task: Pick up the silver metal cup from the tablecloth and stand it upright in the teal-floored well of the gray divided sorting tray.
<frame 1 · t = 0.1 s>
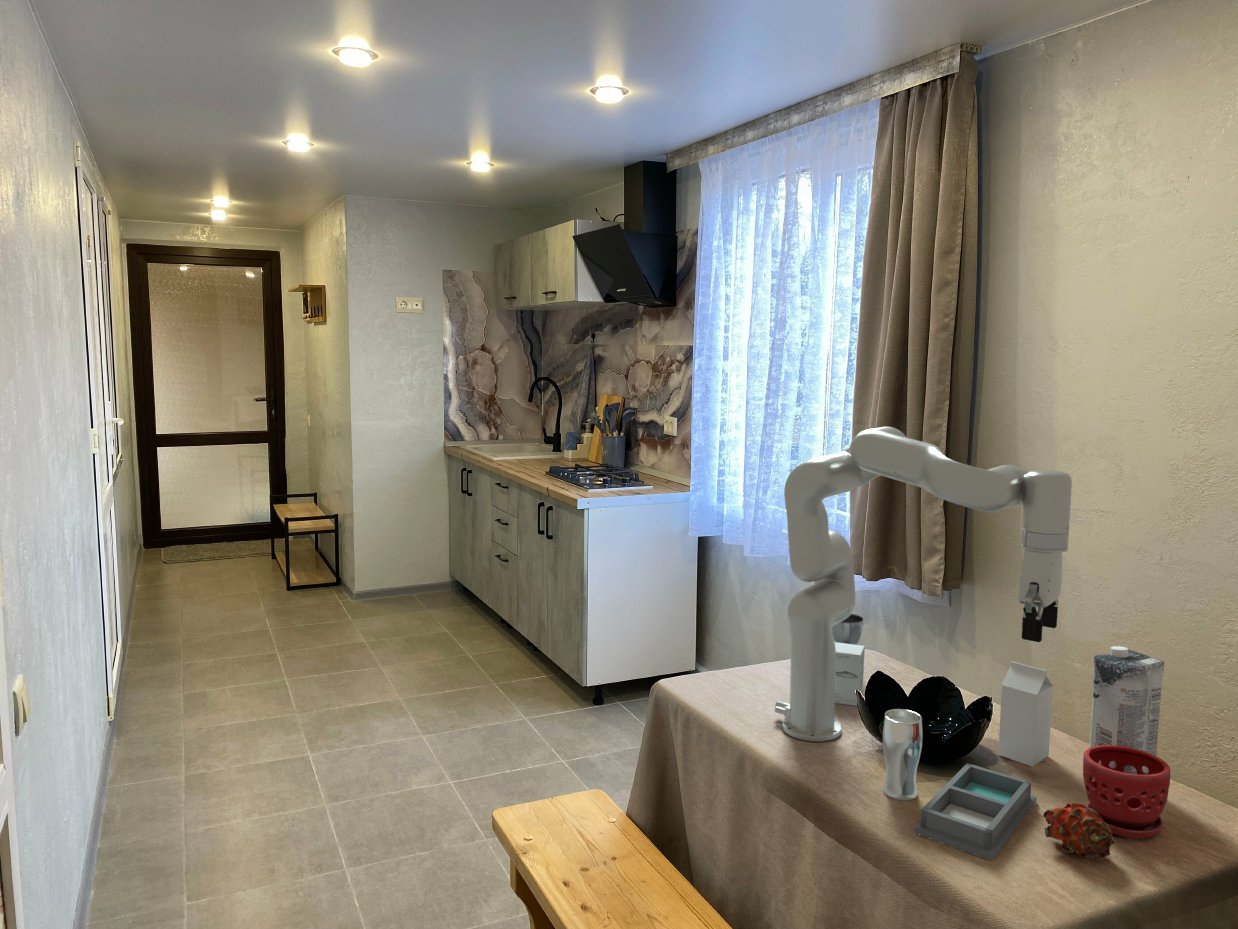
hand: (1039, 633, 162), 31 cm above the table, tool pointing down, fingers open, 9 cm apart
gray divided sorting tray: (976, 817, 159), on the table
plant pot: (1121, 825, 156), on the table
juice carton: (1119, 790, 168), on the table
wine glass: (845, 676, 226), on the table
dragon fruit: (1075, 851, 148), on the table
supplement box: (845, 700, 211), on the table
silver metal cup: (900, 793, 168), on the table
milk carton: (1023, 757, 182), on the table
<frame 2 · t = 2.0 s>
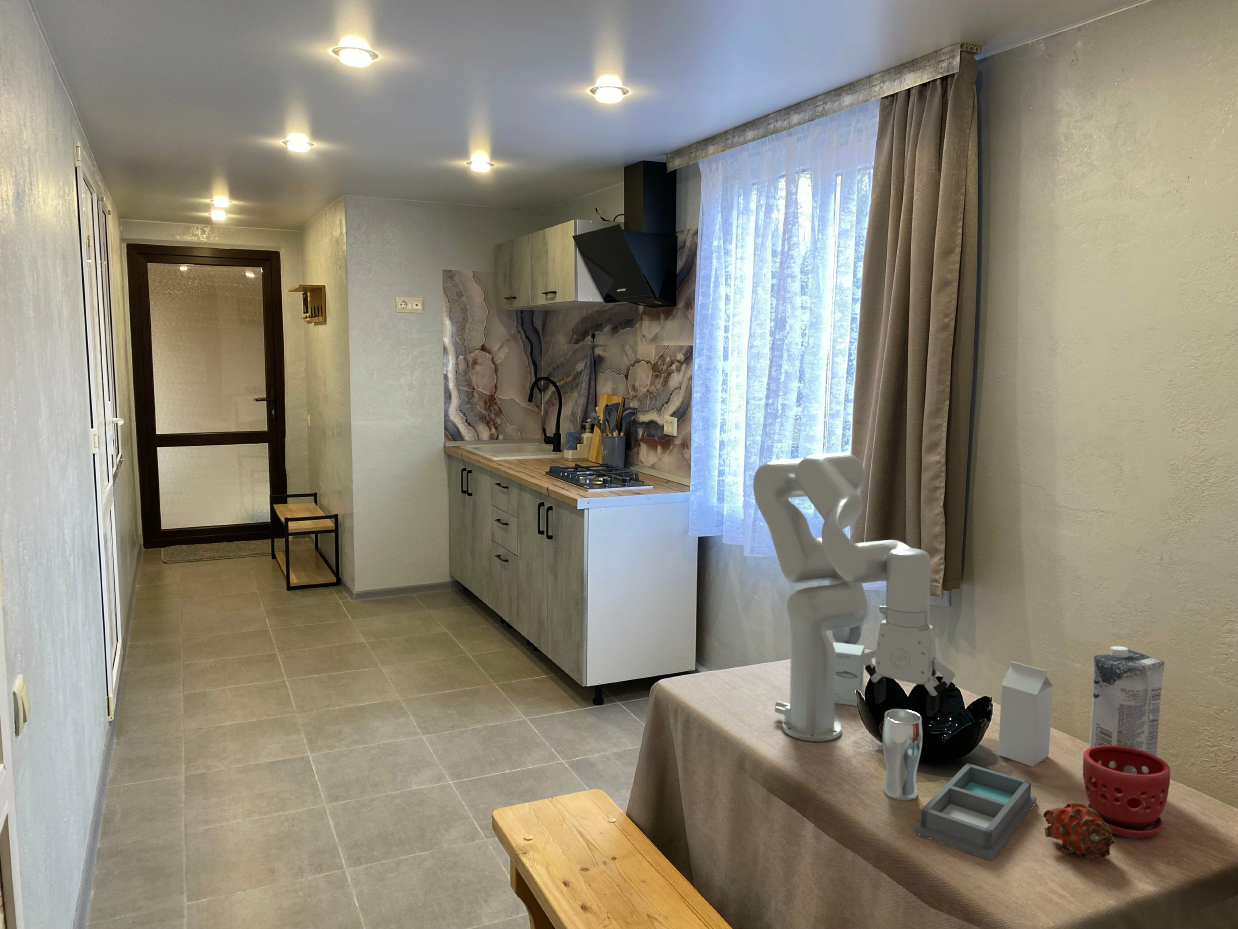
hand: (905, 707, 165), 17 cm above the table, tool pointing down, fingers open, 9 cm apart
nothing on the table moved.
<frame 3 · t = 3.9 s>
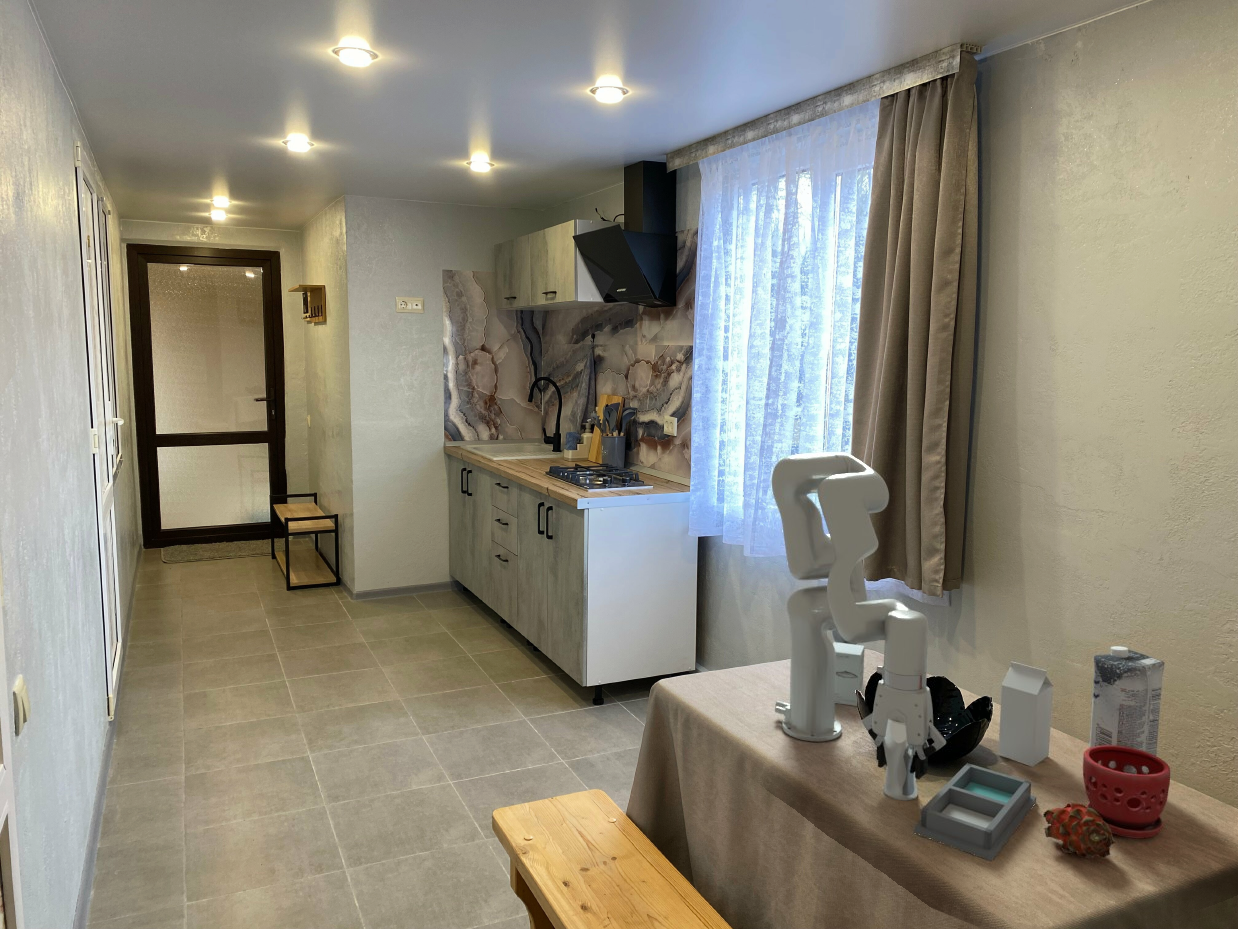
hand: (901, 769, 167), 4 cm above the table, tool pointing down, fingers closed on silver metal cup, 6 cm apart
silver metal cup: (900, 793, 168), on the table, touching gripper
everything else where it was.
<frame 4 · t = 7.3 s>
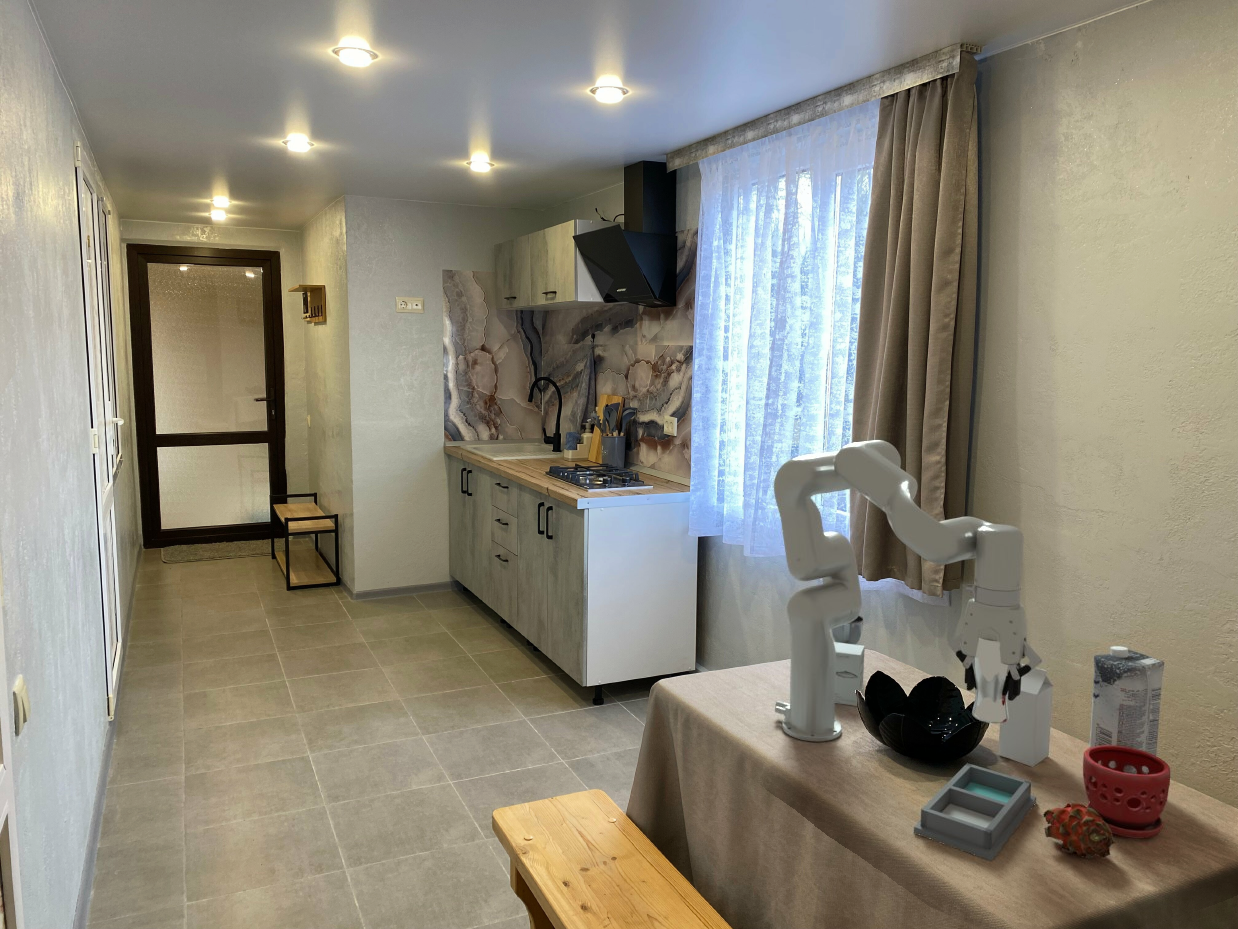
hand: (991, 692, 160), 21 cm above the table, tool pointing down, fingers closed on silver metal cup, 6 cm apart
silver metal cup: (990, 717, 161), point 17 cm above the table, touching gripper
everything else where it was.
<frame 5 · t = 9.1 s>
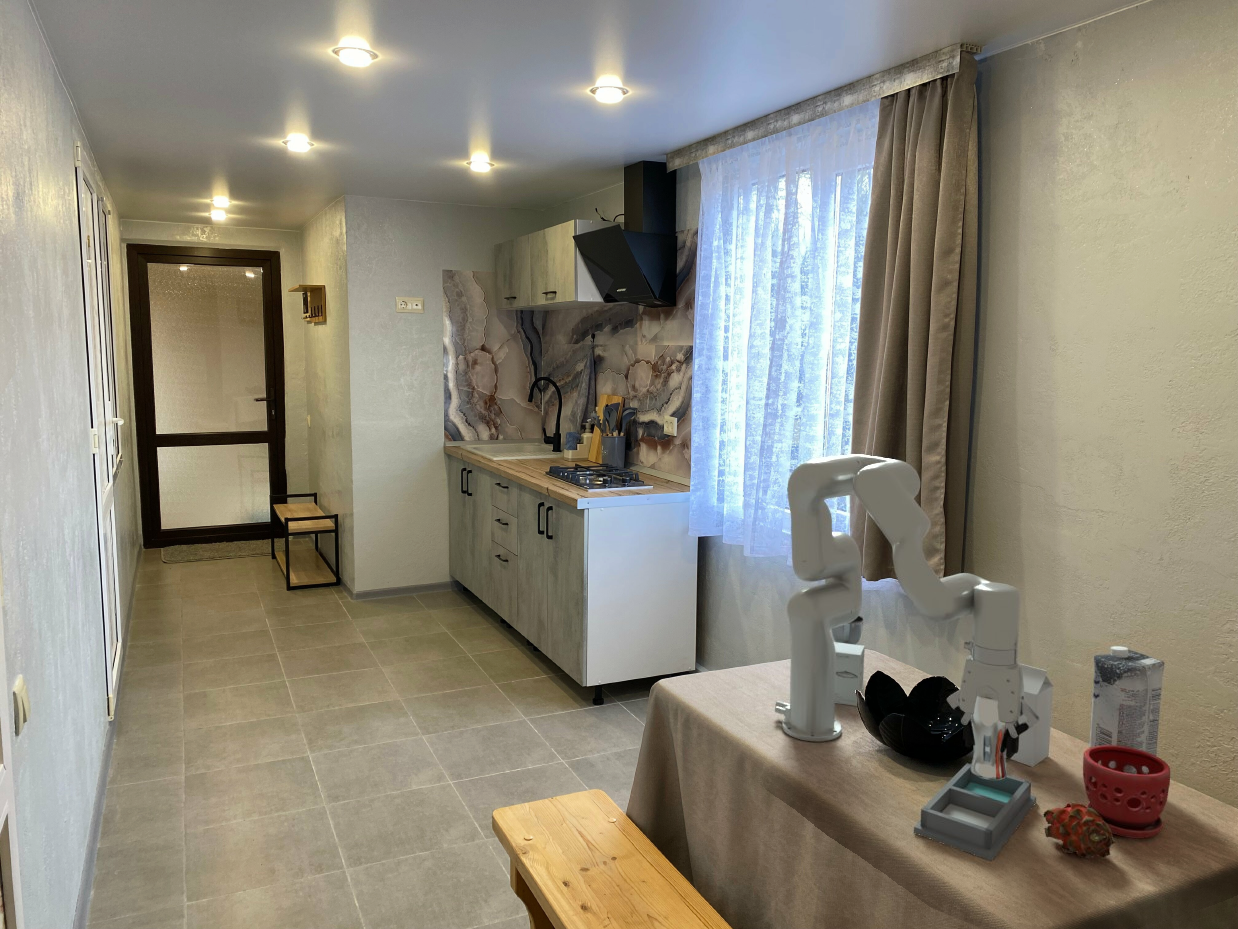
hand: (990, 749, 161), 11 cm above the table, tool pointing down, fingers closed on silver metal cup, 6 cm apart
silver metal cup: (988, 773, 162), point 6 cm above the table, touching gripper
everything else where it was.
when the fingers open (7 cm above the table, at t = 10.7 s): silver metal cup drops 2 cm, resting on gray divided sorting tray.
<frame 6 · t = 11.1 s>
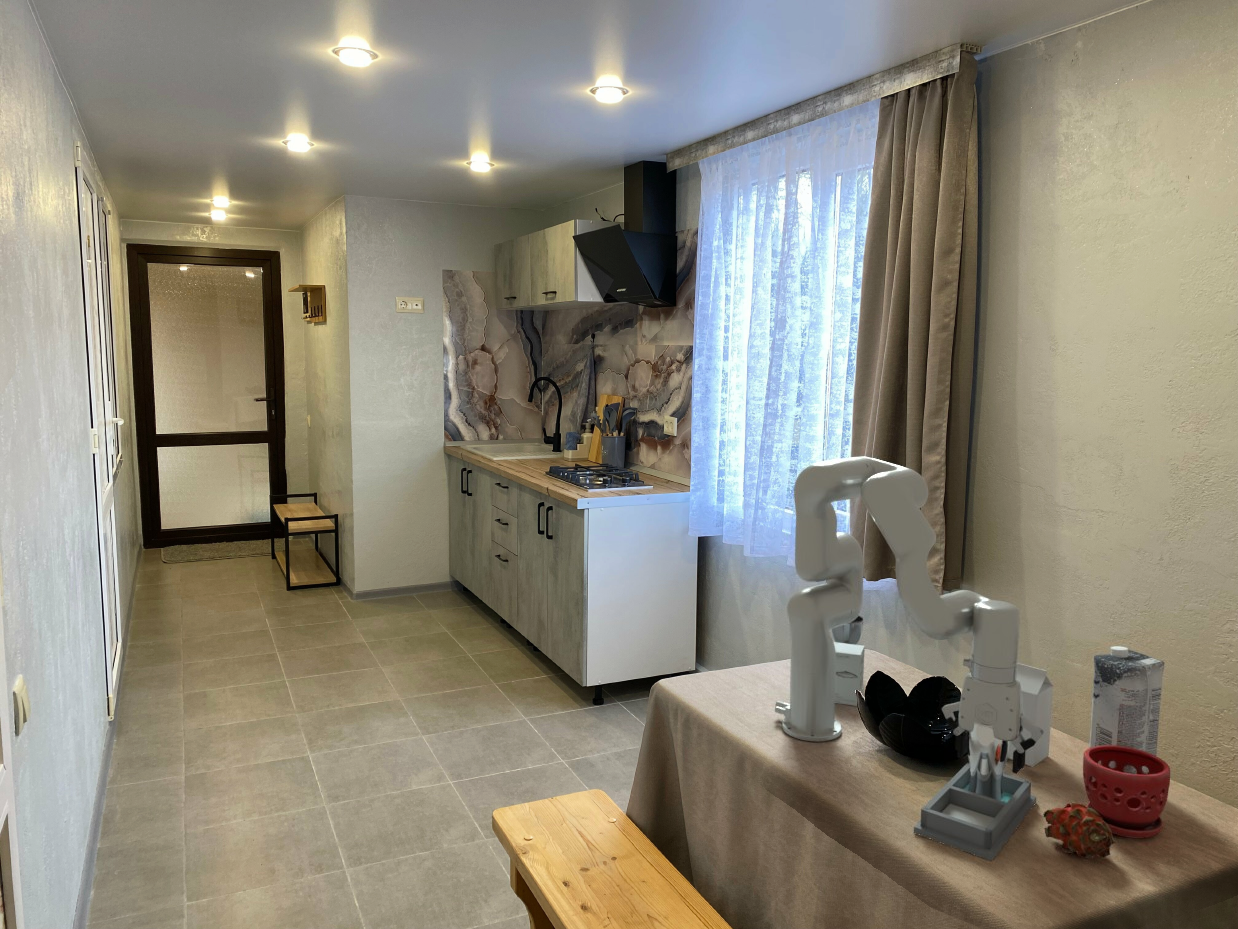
hand: (989, 762, 162), 8 cm above the table, tool pointing down, fingers open, 9 cm apart
silver metal cup: (985, 799, 163), point 1 cm above the table, touching gray divided sorting tray
everything else where it was.
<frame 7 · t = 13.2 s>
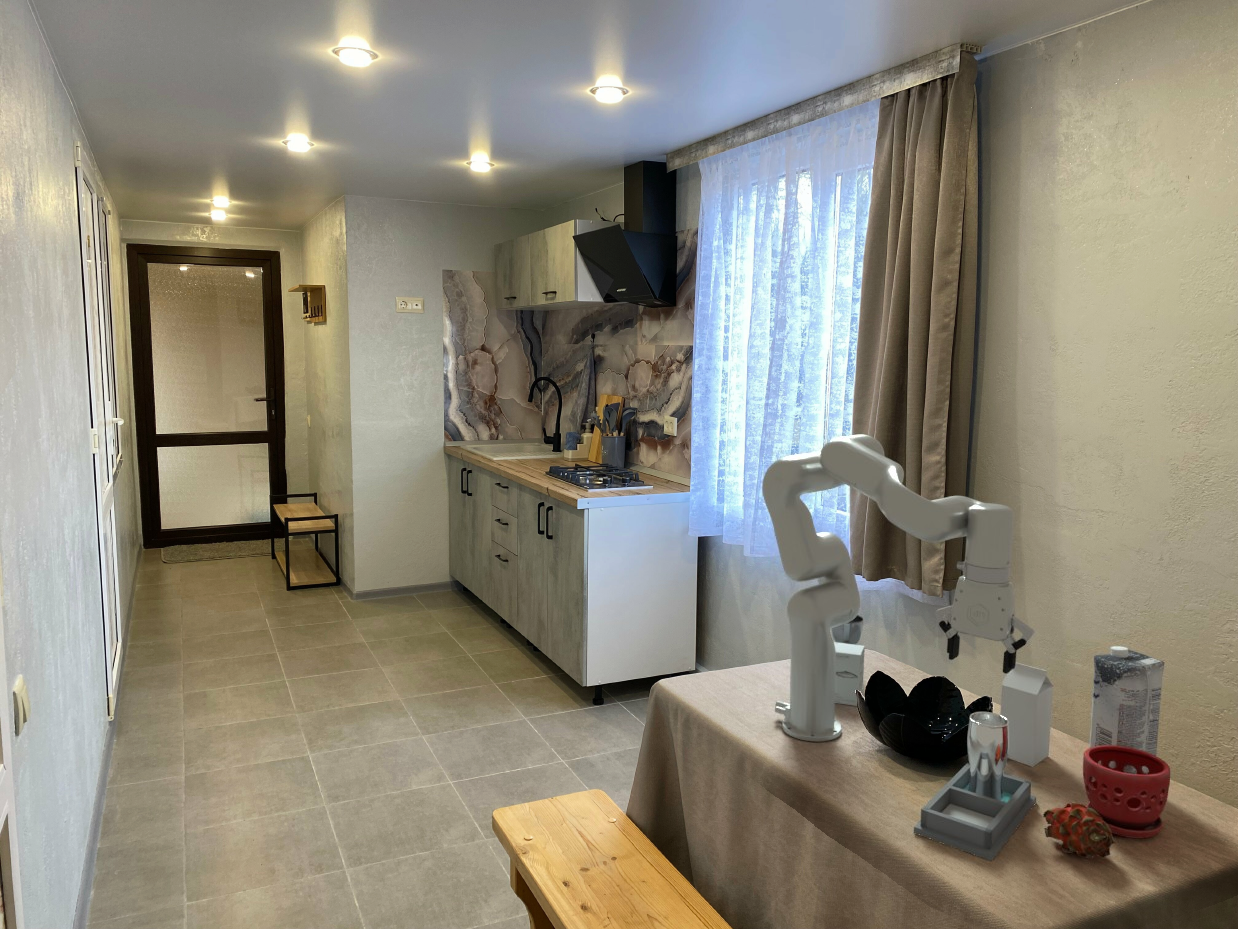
hand: (979, 664, 163), 25 cm above the table, tool pointing down, fingers open, 9 cm apart
nothing on the table moved.
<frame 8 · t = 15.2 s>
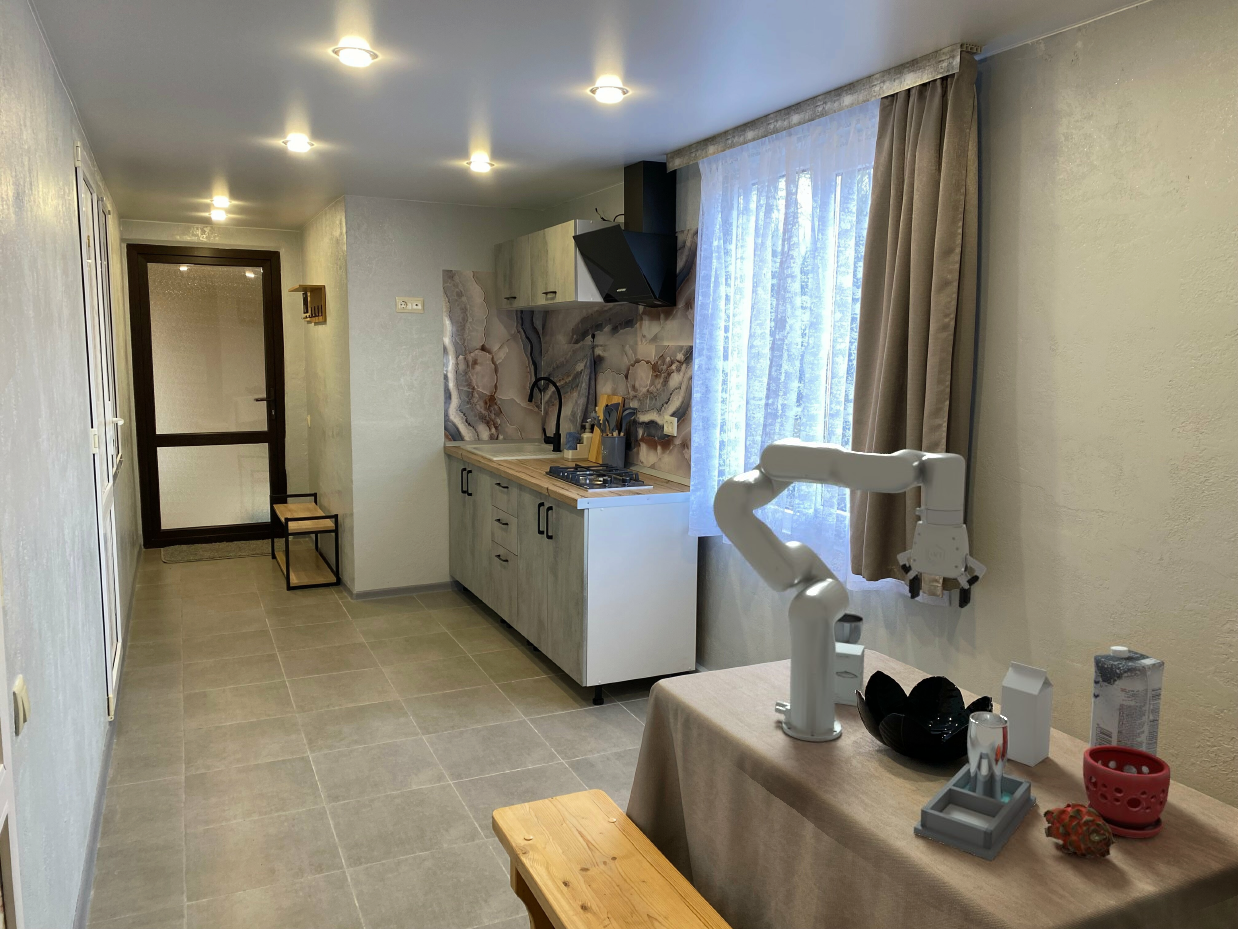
hand: (938, 602, 178), 32 cm above the table, tool pointing down, fingers open, 9 cm apart
nothing on the table moved.
at the end: silver metal cup 0.3 cm from the target spot on the gray divided sorting tray, point 1.2 cm above the gray divided sorting tray's base; silver metal cup tilted 0°; the gripper is holding nothing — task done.
